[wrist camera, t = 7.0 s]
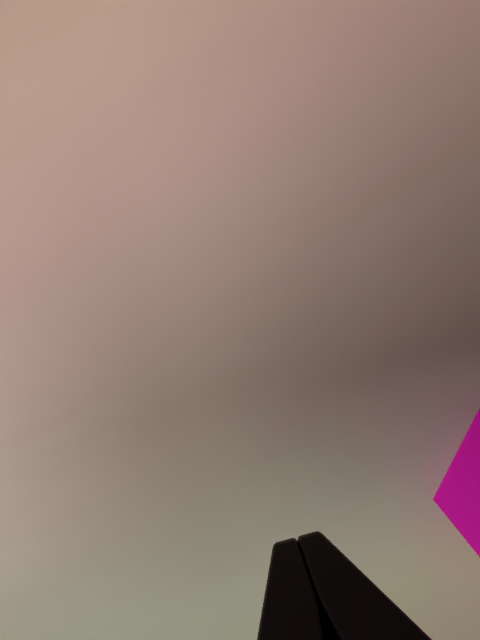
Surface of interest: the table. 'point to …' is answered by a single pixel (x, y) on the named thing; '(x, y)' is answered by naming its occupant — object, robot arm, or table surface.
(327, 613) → the robot arm
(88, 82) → the table surface
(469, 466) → the magenta cradle block
